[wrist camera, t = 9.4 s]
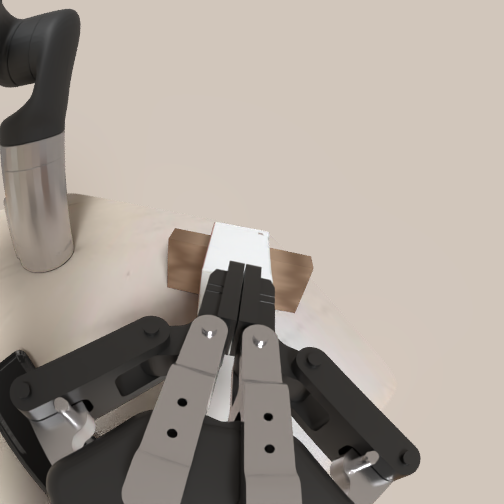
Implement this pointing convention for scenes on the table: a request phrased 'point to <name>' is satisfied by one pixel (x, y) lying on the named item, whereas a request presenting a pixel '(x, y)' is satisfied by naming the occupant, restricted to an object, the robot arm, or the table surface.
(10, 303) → the table surface
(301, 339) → the table surface
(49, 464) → the phone
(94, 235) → the table surface
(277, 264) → the walnut board
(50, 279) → the table surface
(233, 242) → the small box
